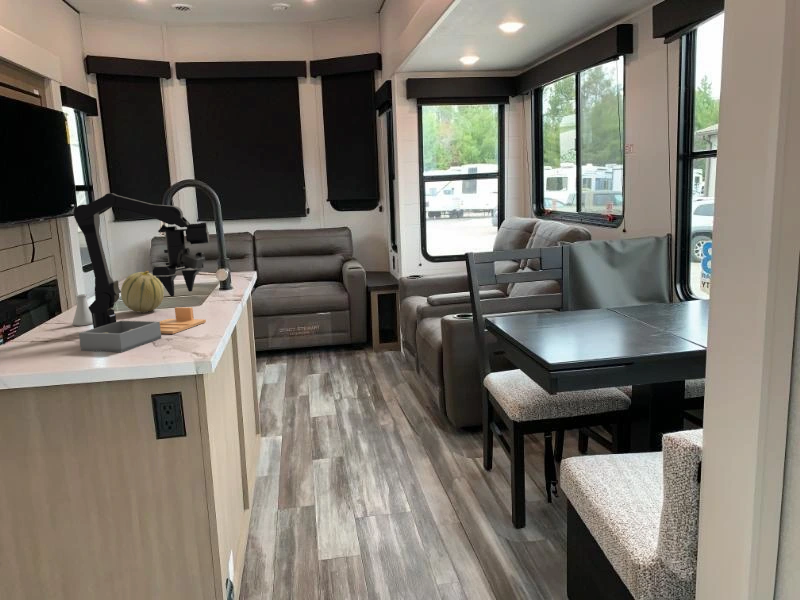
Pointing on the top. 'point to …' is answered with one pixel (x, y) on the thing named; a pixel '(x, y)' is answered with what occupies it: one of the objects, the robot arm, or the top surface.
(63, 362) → the top surface
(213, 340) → the top surface
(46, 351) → the top surface
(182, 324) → the lid
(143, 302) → the cantaloupe
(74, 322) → the flask
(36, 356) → the top surface
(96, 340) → the tub
